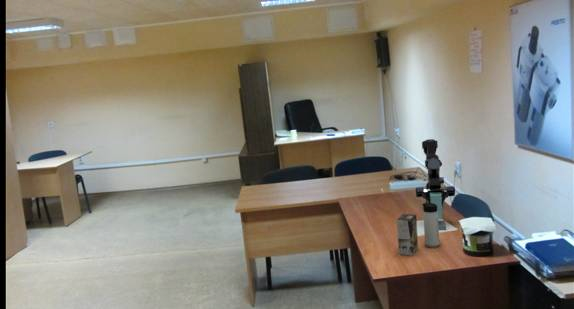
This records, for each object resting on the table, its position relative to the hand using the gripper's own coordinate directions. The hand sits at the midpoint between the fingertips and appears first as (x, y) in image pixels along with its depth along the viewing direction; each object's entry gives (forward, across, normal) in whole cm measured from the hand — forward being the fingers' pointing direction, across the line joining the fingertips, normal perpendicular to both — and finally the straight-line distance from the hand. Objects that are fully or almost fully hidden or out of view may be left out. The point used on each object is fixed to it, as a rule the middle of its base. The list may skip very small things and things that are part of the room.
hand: (436, 206), depth 228 cm
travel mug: (+22, -4, -6) cm, 23 cm away
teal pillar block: (+3, 0, +5) cm, 6 cm away
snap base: (+7, 0, +9) cm, 11 cm away
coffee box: (+27, -14, -10) cm, 32 cm away
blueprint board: (+7, -5, +10) cm, 13 cm away
